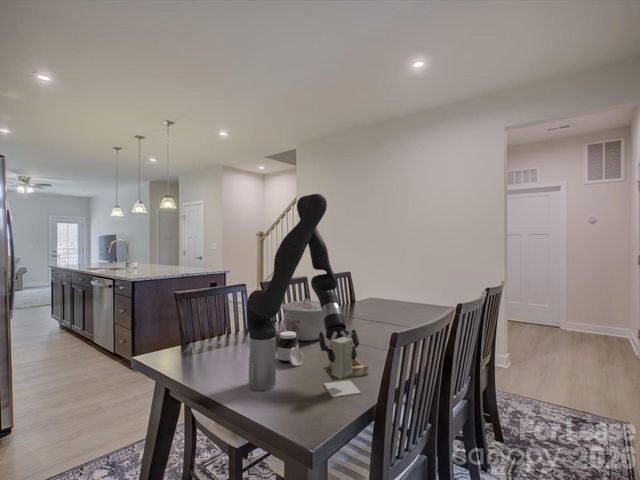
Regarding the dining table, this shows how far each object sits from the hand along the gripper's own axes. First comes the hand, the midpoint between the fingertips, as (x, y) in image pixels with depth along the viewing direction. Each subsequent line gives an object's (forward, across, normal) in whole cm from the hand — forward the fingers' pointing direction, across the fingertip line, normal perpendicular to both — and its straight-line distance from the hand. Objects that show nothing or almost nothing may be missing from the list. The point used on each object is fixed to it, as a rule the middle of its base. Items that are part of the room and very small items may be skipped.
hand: (343, 359), depth 113 cm
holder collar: (-4, +8, +19) cm, 21 cm away
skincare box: (+3, 0, +5) cm, 6 cm away
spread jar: (-14, -12, +30) cm, 35 cm away
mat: (+7, 0, +8) cm, 11 cm away
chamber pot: (-37, +2, +54) cm, 65 cm away
